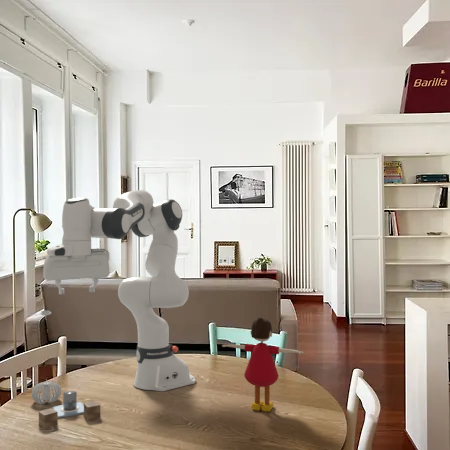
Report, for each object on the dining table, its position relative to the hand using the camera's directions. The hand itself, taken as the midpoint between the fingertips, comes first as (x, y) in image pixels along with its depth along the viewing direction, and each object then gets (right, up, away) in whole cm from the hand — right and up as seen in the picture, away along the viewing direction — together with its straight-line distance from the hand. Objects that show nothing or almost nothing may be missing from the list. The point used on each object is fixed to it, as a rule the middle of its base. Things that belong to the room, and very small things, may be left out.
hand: (77, 293), depth 168 cm
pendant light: (-12, -37, +8) cm, 40 cm away
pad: (-2, -37, 0) cm, 37 cm away
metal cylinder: (-2, -36, 0) cm, 36 cm away
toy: (+58, -37, +1) cm, 69 cm away
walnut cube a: (+6, -37, -5) cm, 38 cm away
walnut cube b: (-5, -38, -11) cm, 39 cm away
